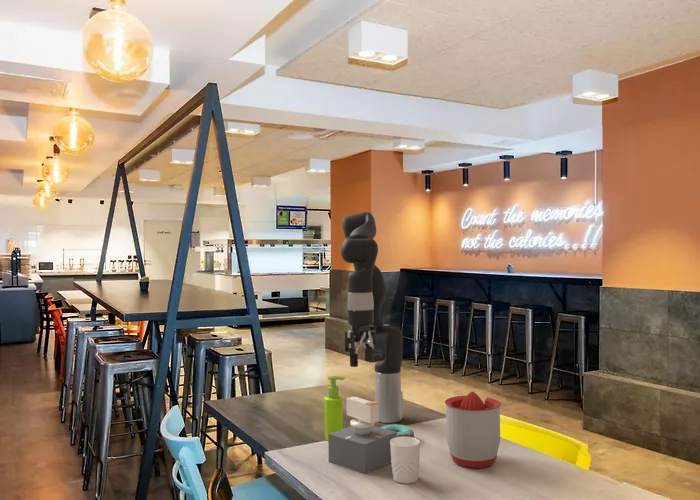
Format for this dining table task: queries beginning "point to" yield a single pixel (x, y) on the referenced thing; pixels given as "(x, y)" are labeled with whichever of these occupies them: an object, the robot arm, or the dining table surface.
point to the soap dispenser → (333, 408)
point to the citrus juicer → (473, 430)
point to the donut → (400, 430)
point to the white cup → (405, 459)
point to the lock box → (360, 448)
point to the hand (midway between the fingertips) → (361, 363)
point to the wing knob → (362, 412)
